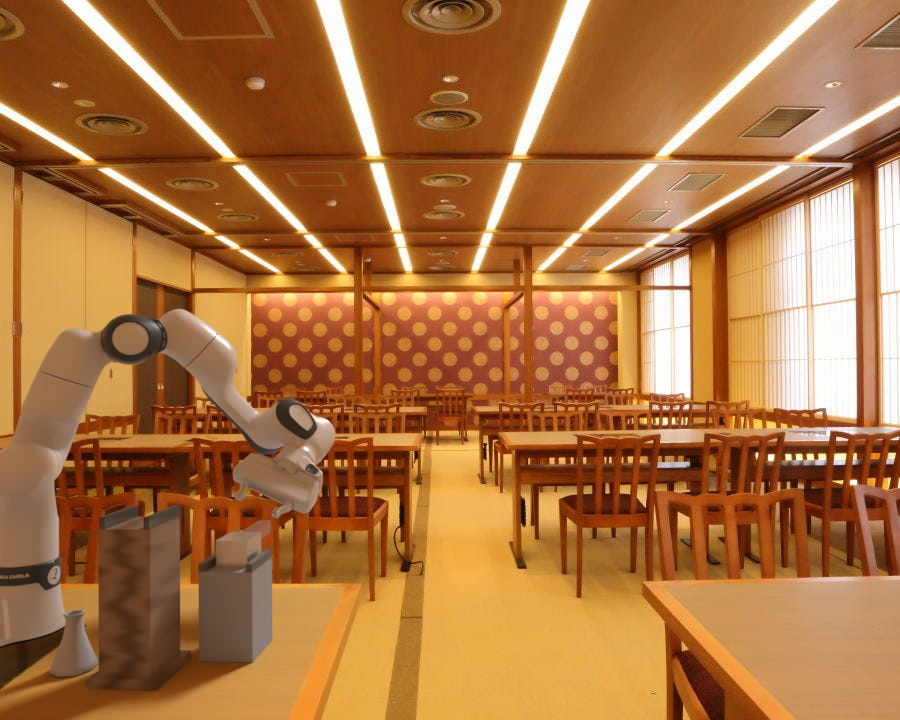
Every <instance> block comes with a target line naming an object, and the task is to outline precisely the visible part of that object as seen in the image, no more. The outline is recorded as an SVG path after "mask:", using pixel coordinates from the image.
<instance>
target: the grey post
mask: <svg viewBox="0 0 900 720" xmlns="http://www.w3.org/2000/svg"><path fill="white" fill-rule="evenodd" d="M273 640H274V639H273V552H272V549H268V548H267V549H264V550H263V551H261V553H260V554H259V555H257V556H256V557H255V558H253V559H252V560H250V561H249V562H248V563H246V568H216V552H215V553H214V554H212V555H210V556H209V557H207V558H206V559H204V560H202V561H200V562H199V563H198V662H211V663H213V662H215V663H217V662H218V663H219V662H220V663H254V662H255V661H256V659H257V658H258V657H259V656H260V655H261V653H263V651H264V650H265V649H266V648H267V647H268V646H269V644H271V642H272V641H273Z"/></svg>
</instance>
